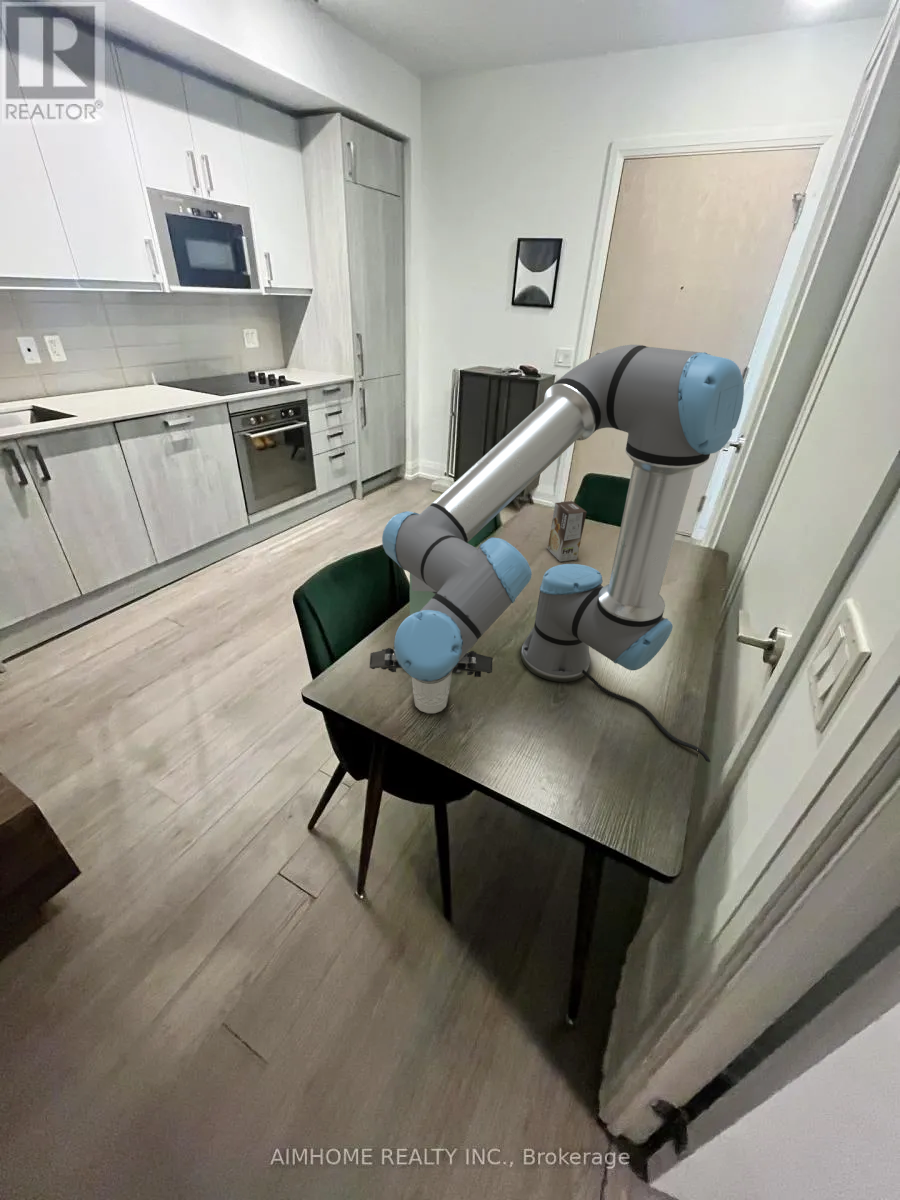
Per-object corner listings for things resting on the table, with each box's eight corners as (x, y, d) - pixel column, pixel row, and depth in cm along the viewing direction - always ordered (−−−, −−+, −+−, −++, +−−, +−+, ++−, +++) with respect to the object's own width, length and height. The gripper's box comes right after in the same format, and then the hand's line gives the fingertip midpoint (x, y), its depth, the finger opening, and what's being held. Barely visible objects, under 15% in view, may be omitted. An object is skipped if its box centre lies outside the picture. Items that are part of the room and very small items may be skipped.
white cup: (445, 719, 94) (448, 680, 88) (406, 712, 95) (406, 673, 90) (453, 691, 100) (456, 654, 95) (416, 685, 102) (417, 647, 96)
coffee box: (577, 560, 152) (588, 512, 143) (559, 562, 150) (569, 513, 141) (563, 547, 159) (572, 500, 150) (546, 548, 157) (554, 502, 149)
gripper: (519, 632, 68) (501, 648, 89) (341, 624, 68) (364, 642, 88) (519, 686, 67) (500, 689, 87) (337, 679, 66) (361, 684, 87)
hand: (432, 666), depth 88 cm, fingers open, 13 cm apart
